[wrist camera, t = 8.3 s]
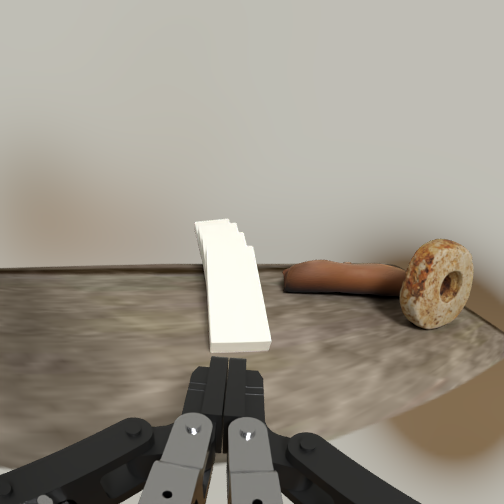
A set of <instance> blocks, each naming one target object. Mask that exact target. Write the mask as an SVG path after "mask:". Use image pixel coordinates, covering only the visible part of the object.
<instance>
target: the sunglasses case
mask: <svg viewBox="0 0 504 504" xmlns="http://www.w3.org/2000/svg"><path fill="white" fill-rule="evenodd" d="M282 273H283V274H284V288H285V289H284V292H286V291H288V292H315V293H317V292H342V293H353V294H373V295H386V296H400V291H401V288H402V284H403V281H404V280H405V273H406V271H405V270H402V269H400V268H396V267H393V266H389V265H383V264H371V263H369V264H368V263H367V264H352V263H351V262H344V263H337V262H332V261H328V260H312V261H307V262H303V263H299V264H295V265H293V266H292V267H291V268H289V269H286V270H284V271H283V272H282Z"/></svg>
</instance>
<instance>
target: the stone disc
mask: <svg viewBox="0 0 504 504" xmlns="http://www.w3.org/2000/svg"><path fill="white" fill-rule="evenodd" d="M472 280H473V264H472V255H471V254H470V252H469V251H468V250H467V249H466V248H465V247H463V246H462V245H460V244H458V243H456V242H454V241H450V240H447V239H435V240H432V241H429V242H427V243H426V244H424V245H422V246H421V247H420V248H419V249H418V250H417V251H416V253H415V254H414V256H413V258H412V260H411V261H410V263H409V266H408V268H407V271H406V273H405V280H404V281H403V284H402V288H401V291H400V304H401V308H402V312H403V314H404V315H405V317H406V318H407V319H408V320H409V321H410V322H412V323H414V324H415V325H417V326H419V327H421V328H425V329H433V328H438V327H441V326H443V325H446V324H448V323H450V322H451V321H453V320H454V319H455V318H456V317H457V316H458V314H459V313H460V312H461V310H462V309H463V307H464V306H465V304H466V302H467V299H468V297H469V294H470V290H471V286H472Z"/></svg>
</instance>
